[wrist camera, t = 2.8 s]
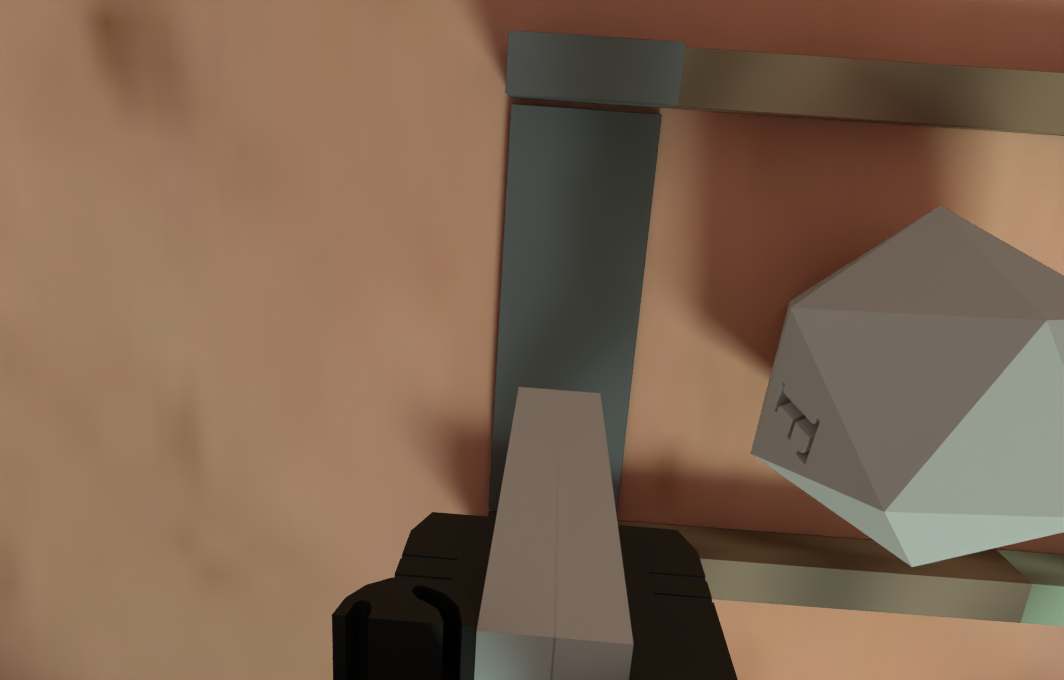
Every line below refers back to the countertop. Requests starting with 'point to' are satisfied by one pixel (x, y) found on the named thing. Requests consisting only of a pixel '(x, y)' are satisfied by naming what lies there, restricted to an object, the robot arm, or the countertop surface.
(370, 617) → the robot arm
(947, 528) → the die
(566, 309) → the trap channel
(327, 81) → the countertop surface
